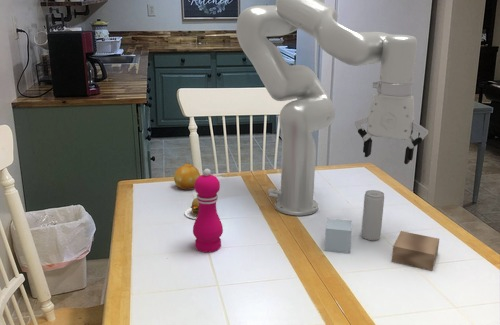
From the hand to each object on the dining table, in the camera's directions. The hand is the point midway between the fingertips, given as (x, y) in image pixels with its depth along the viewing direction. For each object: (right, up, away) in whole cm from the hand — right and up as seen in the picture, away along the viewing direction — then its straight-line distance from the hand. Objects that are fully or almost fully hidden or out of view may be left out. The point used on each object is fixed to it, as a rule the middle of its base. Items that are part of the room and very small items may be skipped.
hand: (386, 159), depth 124 cm
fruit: (-53, -9, +39) cm, 67 cm away
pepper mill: (-44, -22, 0) cm, 49 cm away
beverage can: (-2, -20, +6) cm, 21 cm away
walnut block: (+6, -23, -4) cm, 24 cm away
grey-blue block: (-12, -22, +1) cm, 25 cm away
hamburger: (-47, -16, +20) cm, 54 cm away
